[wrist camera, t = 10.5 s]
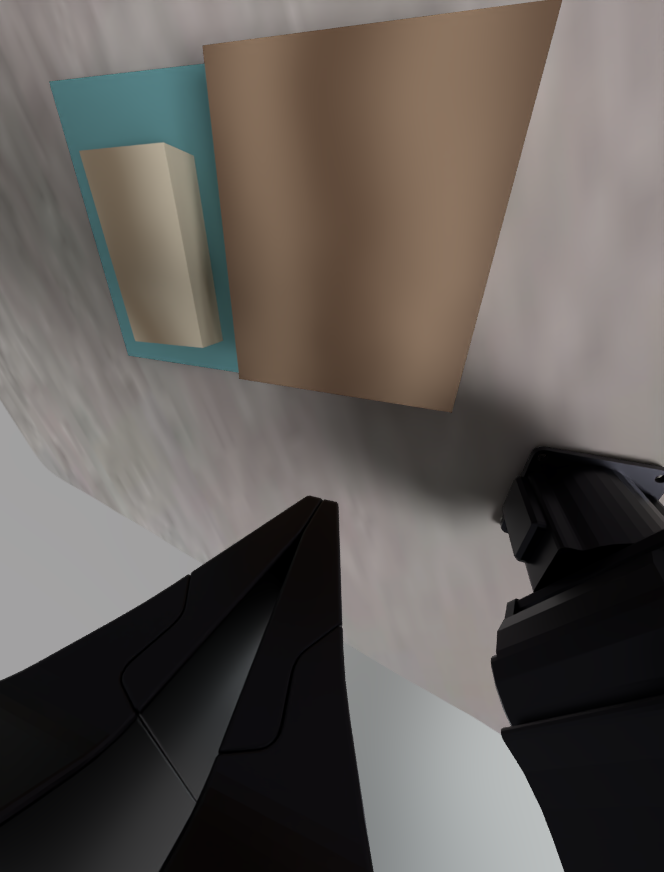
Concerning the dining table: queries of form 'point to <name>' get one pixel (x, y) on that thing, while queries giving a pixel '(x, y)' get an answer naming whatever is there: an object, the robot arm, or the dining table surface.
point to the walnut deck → (370, 193)
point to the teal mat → (145, 124)
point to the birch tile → (156, 241)
